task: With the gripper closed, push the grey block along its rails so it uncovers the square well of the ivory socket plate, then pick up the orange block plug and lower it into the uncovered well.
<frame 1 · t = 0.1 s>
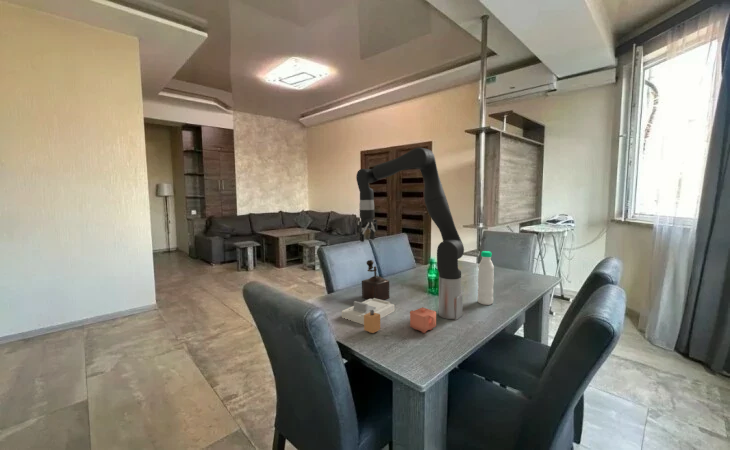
hand: (367, 240, 166), 29 cm above the table, fingers open, 8 cm apart
grey block: (364, 305, 141), point 5 cm above the table, slide at 0.0 cm
white milk bottle: (485, 303, 156), on the table
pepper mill: (372, 297, 167), on the table
socket plate: (368, 314, 144), on the table
pink cube teapot: (421, 329, 128), on the table
plug: (372, 331, 126), on the table
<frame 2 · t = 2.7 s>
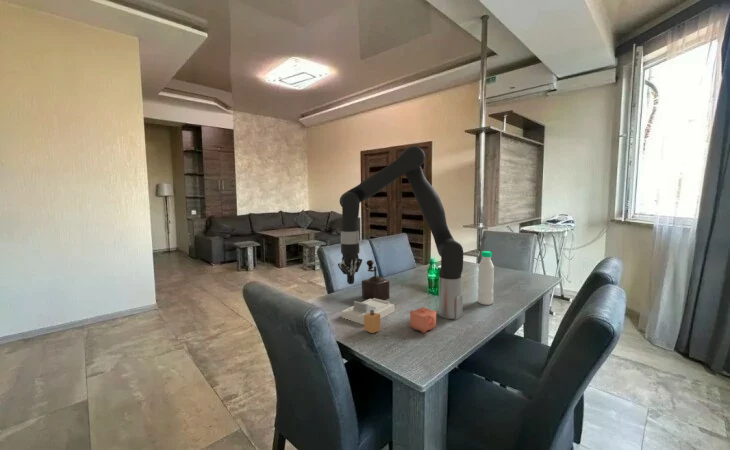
hand: (350, 283, 133), 17 cm above the table, fingers closed
nothing on the table moved.
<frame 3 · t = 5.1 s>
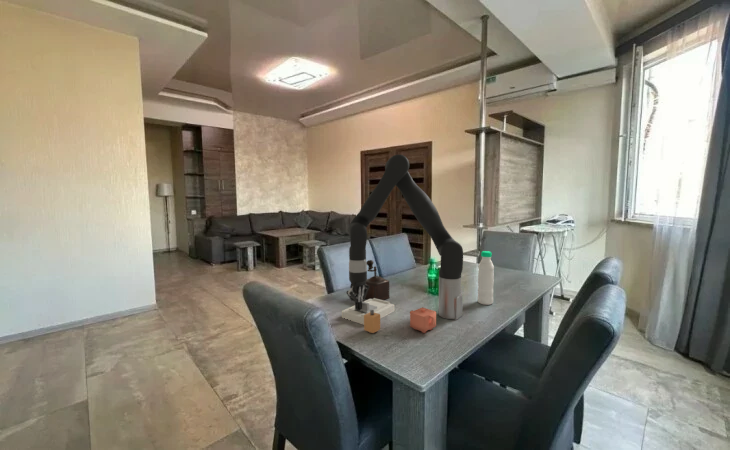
hand: (358, 309, 137), 4 cm above the table, fingers closed
grey block: (365, 304, 142), point 5 cm above the table, slide at 1.1 cm, touching gripper
everything else where it was.
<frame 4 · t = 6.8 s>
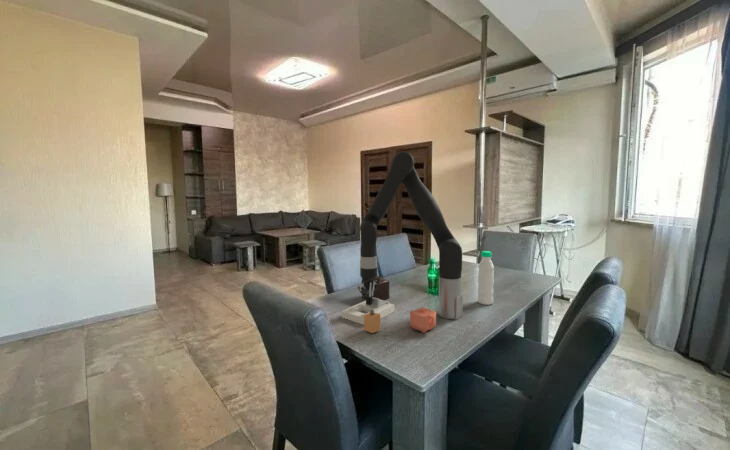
hand: (369, 304, 143), 4 cm above the table, fingers closed
grey block: (376, 300, 147), point 5 cm above the table, slide at 8.5 cm, touching gripper
everything else where it was.
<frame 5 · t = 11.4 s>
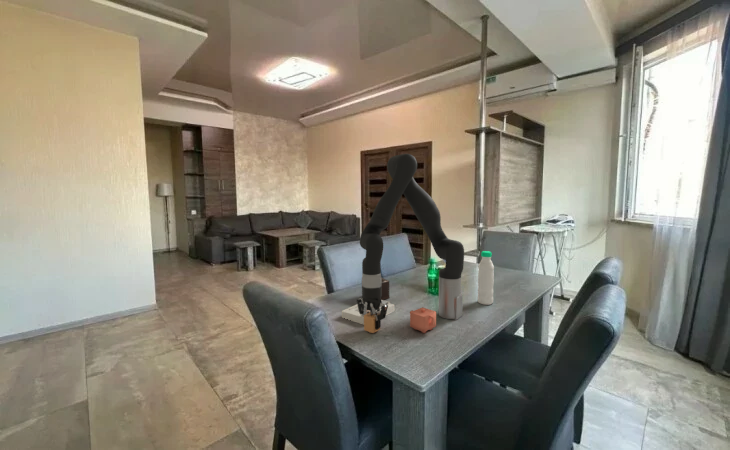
hand: (372, 327, 126), 2 cm above the table, fingers closed on plug, 4 cm apart
grey block: (376, 300, 147), point 5 cm above the table, slide at 8.5 cm
plug: (372, 331, 126), on the table, touching gripper
everything else where it was.
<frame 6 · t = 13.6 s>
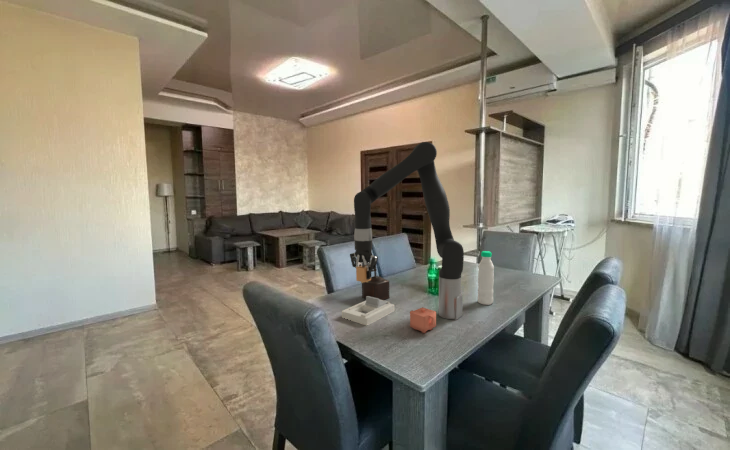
hand: (363, 278, 139), 17 cm above the table, fingers closed on plug, 4 cm apart
plug: (363, 282, 139), point 15 cm above the table, touching gripper
everything else where it was.
when the fingers open (3 cm above the table, at t = 16.0 s): plug stays where it is, resting on socket plate.
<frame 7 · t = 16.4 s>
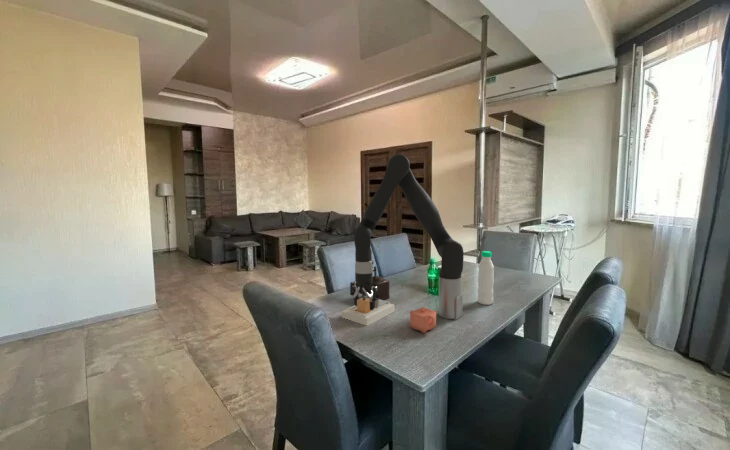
hand: (364, 307, 141), 4 cm above the table, fingers open, 8 cm apart
plug: (364, 314, 141), point 1 cm above the table, touching socket plate
everything else where it was.
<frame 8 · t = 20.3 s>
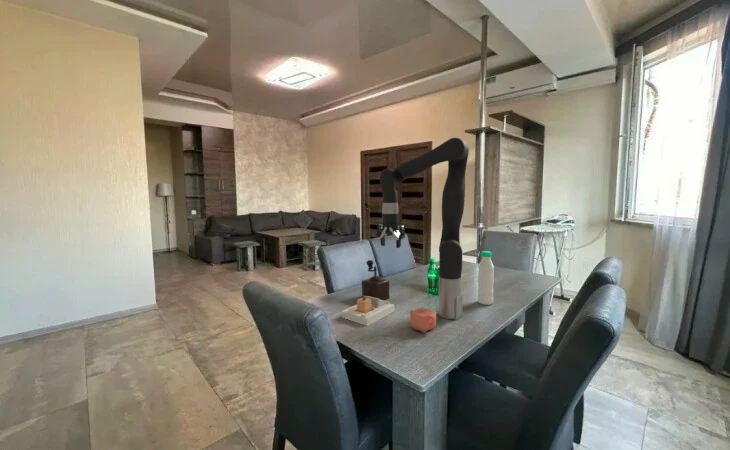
hand: (390, 246, 152), 28 cm above the table, fingers open, 8 cm apart
nothing on the table moved.
at the end: plug 0.1 cm from the target spot on the socket plate, point 0.7 cm above the socket plate's base; grey block slide at 8.5 cm; plug tilted 0° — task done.
